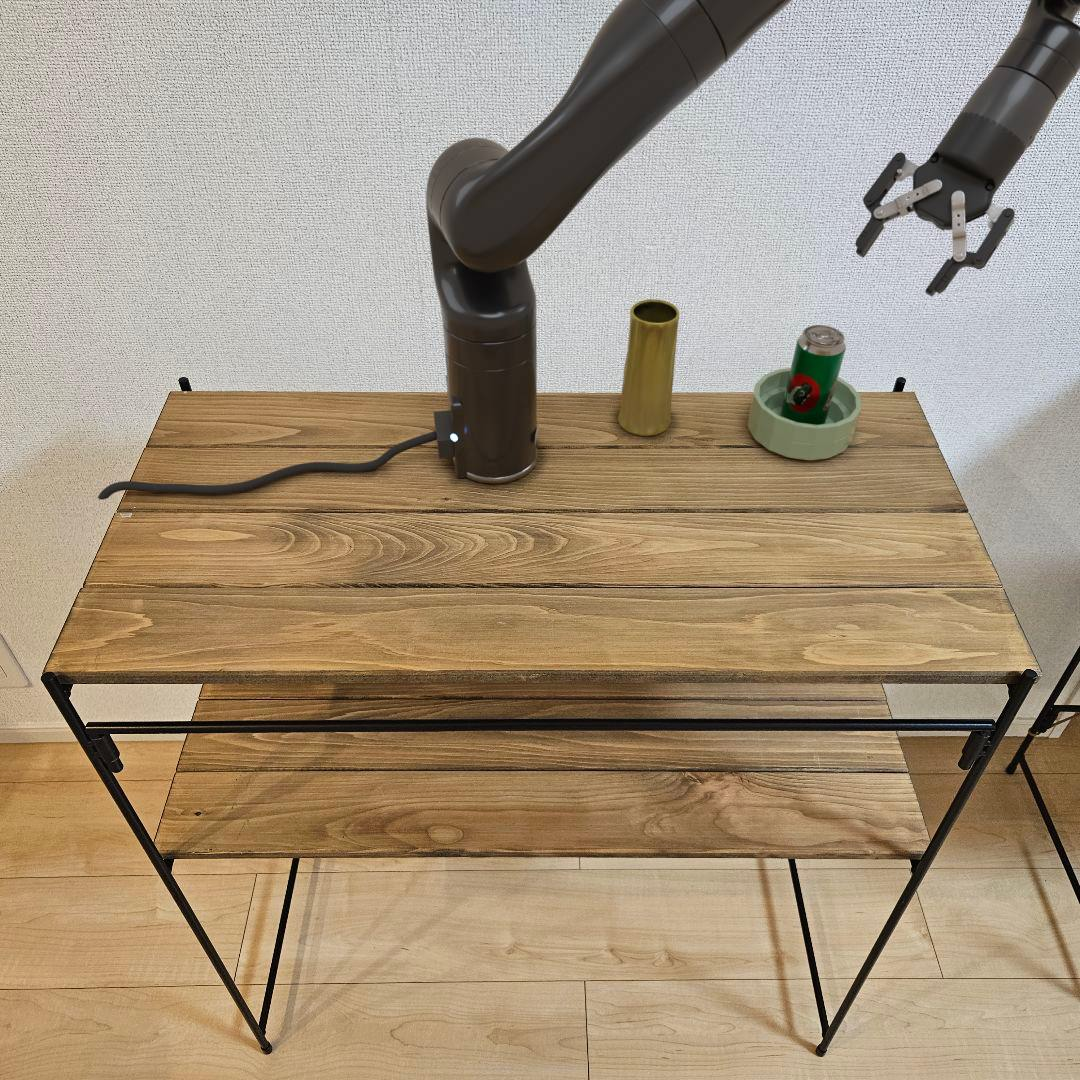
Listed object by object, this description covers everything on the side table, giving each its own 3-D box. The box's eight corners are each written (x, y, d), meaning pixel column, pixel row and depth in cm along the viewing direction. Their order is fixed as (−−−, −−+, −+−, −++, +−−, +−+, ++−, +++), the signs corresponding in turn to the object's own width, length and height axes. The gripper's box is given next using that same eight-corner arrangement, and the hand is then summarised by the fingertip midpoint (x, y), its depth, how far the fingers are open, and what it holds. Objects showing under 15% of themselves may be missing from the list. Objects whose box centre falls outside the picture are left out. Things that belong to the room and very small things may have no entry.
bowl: (767, 469, 97) (776, 432, 94) (733, 408, 106) (740, 372, 102) (867, 458, 99) (879, 421, 95) (826, 399, 107) (835, 363, 103)
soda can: (827, 441, 100) (853, 348, 92) (782, 440, 100) (804, 347, 92) (818, 414, 104) (842, 323, 95) (774, 414, 104) (795, 322, 95)
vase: (655, 401, 106) (667, 292, 97) (679, 430, 102) (694, 319, 92) (609, 412, 105) (616, 302, 95) (631, 441, 101) (641, 330, 91)
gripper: (929, 86, 89) (831, 234, 94) (1062, 149, 84) (951, 301, 89) (933, 112, 95) (842, 250, 101) (1057, 172, 91) (954, 313, 96)
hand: (893, 274), depth 95 cm, fingers open, 8 cm apart
